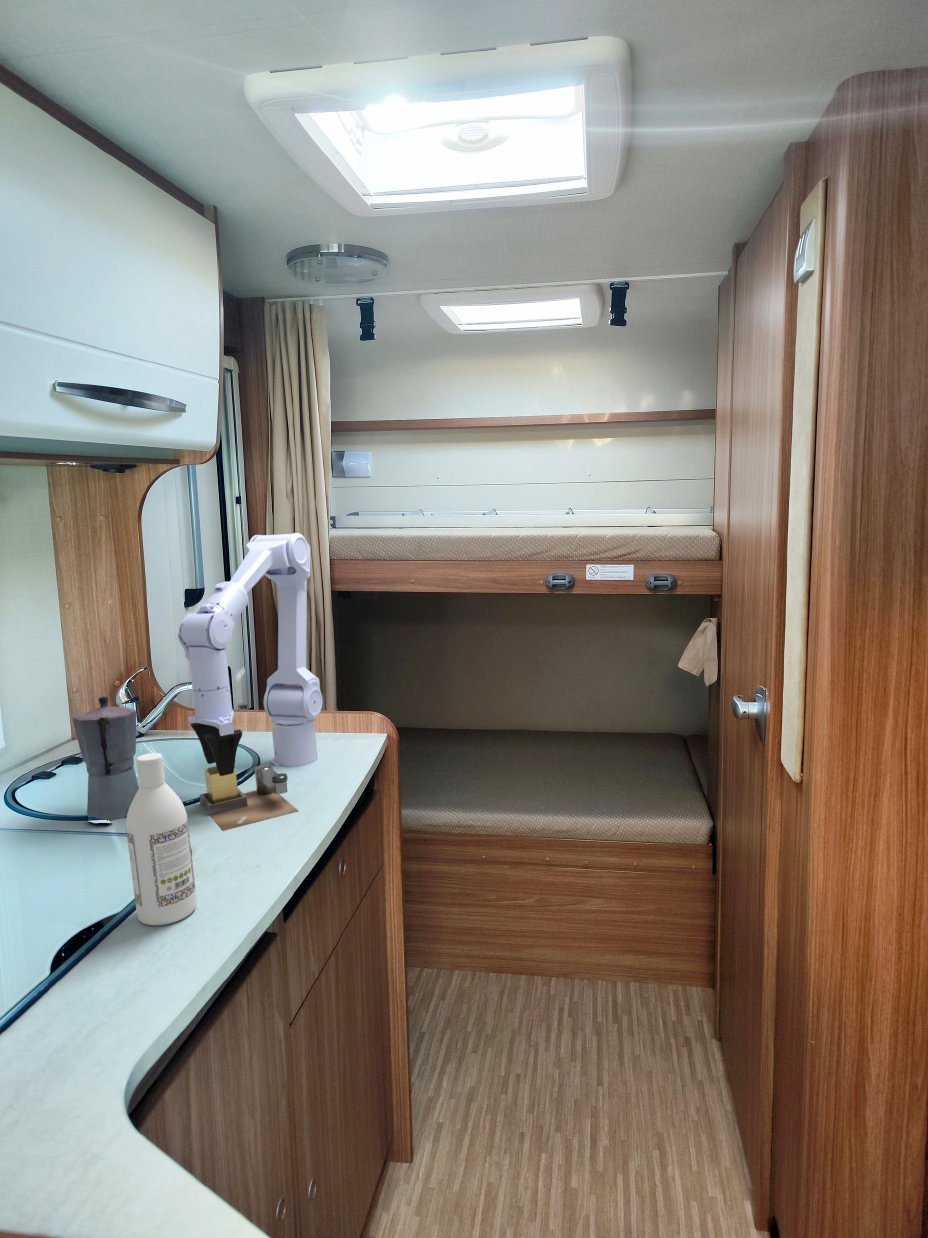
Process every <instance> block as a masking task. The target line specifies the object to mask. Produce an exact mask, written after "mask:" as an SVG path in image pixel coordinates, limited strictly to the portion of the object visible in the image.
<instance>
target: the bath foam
mask: <svg viewBox="0 0 928 1238" xmlns="http://www.w3.org/2000/svg"><path fill="white" fill-rule="evenodd" d="M135 761H136V767H137V768H136V769H137V780H138V786H139V790H138V791H137V793H136V795H135V797H134V799H133V801H132V803H131V805H130V807H129V810H128V814H127V817H126V820H125V821H126V823H125V824H126V825H125V826H126V827H125V828H126V829H125V830H126V831H125V832H126V839H127V847H128V854H129V861H130V862H129V863H130V870H131V871H130V872H131V878H132V885H133V886H132V887H133V895H134V902H135V909H136V916H137V919H138V920H139V922H140V923H142V924H144V925H147V926H165V925H170V924H173V923H176V922H179V921H182V920H183V919H185V918H187V917H188V916H190V915H191V914H192V913H193V912H195V909H196V908H197V904H198V900H197V892H196V881H195V880H196V879H195V872H194V871H195V870H194V864H193V855H192V853H193V852H192V848H191V847H192V846H191V838H190V837H191V836H190V829H189V828H190V827H189V820H188V815H187V810H186V807H185V805H184V804H183V801H182V799H181V798H180V797H179V796H178V794H177V793H176V792H175V791H174V790H173V789H172V788H171V787H170V786H169V785H168V784H167V783H166V777H165V767H164V757H163V755H162V753H158V752H152V753H144V754H141V755H140V756H138V757H136V760H135Z"/></svg>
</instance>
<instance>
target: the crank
mask: <svg viewBox="0 0 928 1238" xmlns="http://www.w3.org/2000/svg"><path fill="white" fill-rule="evenodd" d="M254 777H255V778H254V779H255V787H256V790H257V794H259V795H266V794H271V793H273V792H274V793H275V794H276V795H278V794H280V795H282V794H286V793H288V782H287V781H288V780H289V779H288V774H287V773H283V772H281V773H278V772H277V771H275V770H274V765H273V764H265V763H264V764H259V765H257V766H255V767H254Z"/></svg>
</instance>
